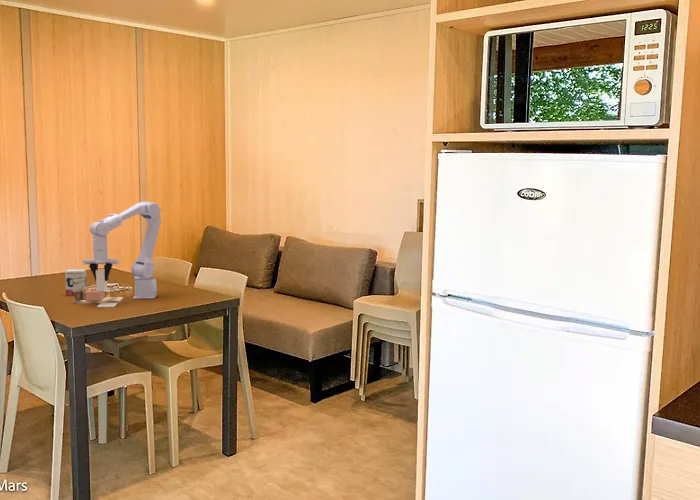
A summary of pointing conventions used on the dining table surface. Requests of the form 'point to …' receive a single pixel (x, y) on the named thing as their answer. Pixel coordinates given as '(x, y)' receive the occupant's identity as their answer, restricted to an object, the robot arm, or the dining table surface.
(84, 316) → the dining table surface
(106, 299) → the birch vise base
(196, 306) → the dining table surface
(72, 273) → the ink box
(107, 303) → the grey mat
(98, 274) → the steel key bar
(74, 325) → the dining table surface
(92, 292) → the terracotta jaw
